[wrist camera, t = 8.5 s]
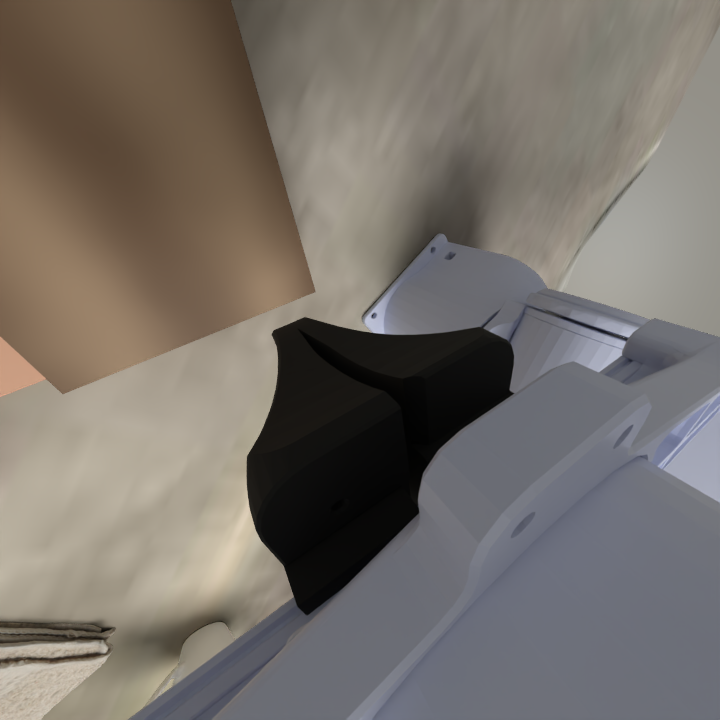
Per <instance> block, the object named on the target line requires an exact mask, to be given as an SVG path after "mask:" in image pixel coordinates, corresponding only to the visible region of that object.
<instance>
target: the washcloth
mask: <svg viewBox="0 0 720 720" xmlns="http://www.w3.org/2000/svg"><path fill="white" fill-rule="evenodd" d="M115 629H116V628H112V629H110V630H107V631H103V632H101V628H100V627H96V626H94V625H86V624H64V623H63V624H30V623H12V622H7V623H4V622H0V720H41V719H42V717H43V716H44V715H45V714H46V713H48V712H49V711H50V710H51V709H52V707H53V706H55V705H56V704H57V703H58V702H60V701H61V700H62V699H63V698H64V697H65V696H66V695H68V694H69V692H70V691H71V690H72V689H75V688H76V687H77V686H78V685H79V684H81V683H82V682H83V681H84V680H85V679H87V678H88V677H89V676H90V675H91V674H93V673H94V672H95V671H96V669H97V668H99V667H101V665H102V664H103V663H105V662H106V661H107V658H108V657H109V655H111V653H112V651H113V646H112V645H111V644H109V643H108V642H106V641H107V640H108V639H109V637H110V636H112V634H113V633H114V632H115Z"/></svg>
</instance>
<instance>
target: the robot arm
mask: <svg viewBox="0 0 720 720" xmlns="http://www.w3.org/2000/svg"><path fill="white" fill-rule="evenodd" d="M431 248H432V251H431ZM545 310H546V311H545ZM548 311H549V312H548ZM373 313H374V315H373V316H372V317H371V315H372V314H373ZM559 315H560V316H559ZM362 322H363V323H364V324H365V326H366V327H367V328H368V329H369V330H370V331H371V332H372V333H369V332H363V331H357V330H352V329H347V328H343V327H339V326H335V325H331V324H327V323H324V322H320V321H317V320H313V319H310V318H305V317H304V318H302V319H300V320H297V321H295V322H293V323H290V324H288V325H286V326H283V327H281V328H279V329H276V330H274V331H273V333H272V336H273V339H274V341H275V343H276V346H277V351H278V377H277V385H276V390H275V394H274V398H273V402H272V406H271V409H270V412H269V414H268V417H267V419H266V422H265V424H264V427H263V429H262V431H261V433H260V435H259V437H258V439H257V440H256V442H255V444H254V446H253V448H252V449H251V451H250V452H249V454H248V456H247V491H248V499H249V506H250V511H251V514H252V518H253V522H254V525H255V529H256V531H257V533H258V535H259V537H260V539H261V541H262V542H263V543H264V544H265V545H266V547H267V548H268V549H269V550H270V551H271V552H272V553H273V554H274V555H275V557H276V558H277V559H278V560H279V561H280V562H281V563H282V564H283V565H284V568H285V571H286V574H287V577H288V580H289V583H290V586H291V589H292V592H293V595H294V597H293V598H292V599H291V600H289V601H288V602H287V603H285V604H284V605H282V606H281V607H280V608H278V609H277V610H276V611H274V612H273V613H272V614H270V615H269V616H268V617H266V618H265V619H263V620H262V621H261V622H259V623H258V624H257V625H255V626H254V627H253V628H251V629H250V630H249V631H247V632H246V633H244V634H243V635H242V636H240V637H239V638H238V639H236V640H235V641H234V642H232V643H231V644H230V645H228V646H227V647H225V648H224V649H223V650H221V651H220V652H219V653H217V654H216V655H215V656H213V657H212V658H211V659H209V660H208V661H206V662H205V663H204V664H202V665H201V666H200V667H198V668H197V669H196V670H194V671H193V672H192V673H190V674H189V675H187V676H186V677H185V678H183V679H182V680H181V681H179V682H178V683H177V684H175V685H174V686H173V687H171V688H170V689H168V690H167V691H166V692H164V693H163V694H162V695H160V696H159V697H158V698H156V699H155V700H154V701H152V702H151V703H149V704H148V705H147V706H145V707H144V708H143V709H141V710H140V711H139V712H137V713H136V714H135V715H133V716H132V717H130V718H129V719H128V720H720V337H718V336H714V335H711V334H708V333H704V332H701V331H697V330H694V329H690V328H687V327H683V326H680V325H676V324H673V323H669V322H666V321H662V320H659V319H656V318H654V319H651V320H650V319H647V318H644V317H641V316H638V315H635V314H632V313H629V312H626V311H623V310H620V309H616V308H613V307H610V306H607V305H604V304H600V303H597V302H594V301H591V300H587V299H584V298H580V297H577V296H574V295H570V294H567V293H563V292H559V291H556V290H552V289H547V286H546V285H545V283H544V282H543V280H542V279H541V277H540V276H539V275H538V274H537V273H536V272H535V271H534V270H532V269H531V268H530V267H528V266H527V265H525V264H524V263H522V262H520V261H518V260H516V259H514V258H512V257H509V256H506V255H502V254H498V253H494V252H489V251H485V250H481V249H477V248H472V247H468V246H464V245H459V244H455V243H451V242H448V240H447V238H446V236H445V235H444V234H441V233H439V234H437V235H436V236H435V237H434V238H433V239H432V241H431V242H430V243H429V244H428V245H427V246H426V247H425V248H424V249H423V251H422V252H421V253H420V254H419V255H418V256H417V257H416V258H415V259H414V261H413V262H412V263H411V264H410V265H409V266H408V267H407V268H406V269H405V270H404V272H403V273H402V274H401V275H400V276H399V277H398V278H397V279H396V280H395V282H394V283H393V284H392V285H391V286H390V287H389V288H388V289H387V290H386V292H385V293H384V294H383V295H382V296H381V297H380V298H379V299H378V300H377V302H376V303H375V304H374V305H373V306H372V307H371V308H370V309H369V310H368V312H367V313H366V314H365V315H364V316H363V319H362ZM620 336H621V337H620ZM623 337H625V338H623Z"/></svg>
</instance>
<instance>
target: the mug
mask: <svg viewBox="0 0 720 720" xmlns="http://www.w3.org/2000/svg"><path fill="white" fill-rule="evenodd" d="M234 641H235V638H234V637H233V635H232V634H231V632H230V630H229V629H228V627H227V626H226V624H225V623H223V622H216V623H212V624H209V625H206V626H204V627H202V628H200V629H199V630H197V631H196V632H194V633H193V634H192V635H191V636H189V637H188V638H187V639H186V641H185V642H184V644H183V646H182V650H181V654H180V658H179V662H178V666H176V667H175V668H174V669H173V670H172V671H171V673H170V674H169V675H168V676H167V677H166V678H165V680H164V681H163V682H162V683H161V685H160V686H159V687H158V689H157V690H156V691H155V692H154V694H153V695H152V696H151V698H150V699H149V700H148V702H147V703H146V705H145V706H147V705H148V704H149V703H151V702H152V701H154V700H155V699H156V698H158V697H159V696H160V694H161V693H162V691H163V690H164V688H165V687H166V686H167V684H168V683H169V681H170V680H171V679H174V681H173V685H172V687H173V686H174V685H175V684H177V683H178V682H179V681H181V680H182V679H183V678H185V677H186V676H187V675H189V674H190V673H192V672H193V671H194V670H196V669H197V668H198V667H200V666H201V665H202V664H204V663H205V662H206V661H208V660H209V659H211V658H212V657H213V656H215V655H216V654H217V653H219V652H220V651H221V650H223V649H224V648H225V647H227V646H228V645H230V644H231V643H232V642H234ZM145 706H144V707H145Z"/></svg>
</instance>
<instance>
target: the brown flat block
mask: <svg viewBox="0 0 720 720" xmlns="http://www.w3.org/2000/svg"><path fill="white" fill-rule="evenodd" d="M314 292H315V288H314V285H313V281H312V278H311V275H310V271H309V268H308V264H307V261H306V257H305V254H304V250H303V247H302V244H301V240H300V237H299V233H298V230H297V226H296V223H295V220H294V216H293V213H292V209H291V206H290V202H289V199H288V195H287V192H286V189H285V185H284V182H283V178H282V175H281V171H280V168H279V165H278V161H277V158H276V154H275V151H274V147H273V144H272V140H271V137H270V134H269V130H268V127H267V123H266V120H265V116H264V113H263V110H262V106H261V103H260V99H259V96H258V92H257V89H256V85H255V82H254V79H253V75H252V72H251V68H250V65H249V61H248V58H247V55H246V51H245V48H244V44H243V41H242V37H241V34H240V30H239V27H238V24H237V20H236V17H235V13H234V10H233V6H232V3H231V0H0V337H1V338H2V339H4V340H5V341H6V342H7V343H8V344H9V345H10V346H11V347H12V348H13V349H14V350H15V351H17V352H18V353H19V354H20V355H21V356H22V357H23V358H24V359H25V360H26V361H27V362H28V363H30V364H31V365H32V366H33V367H34V368H35V369H36V370H37V371H38V372H39V373H40V374H42V375H43V376H44V377H45V378H46V379H47V380H48V381H49V382H50V383H51V384H52V385H53V386H55V387H56V388H57V389H58V390H59V391H60V392H61V393H62V394H64V393H67V392H69V391H72V390H74V389H77V388H79V387H82V386H84V385H87V384H89V383H92V382H94V381H96V380H99V379H101V378H104V377H106V376H109V375H111V374H114V373H116V372H119V371H121V370H124V369H126V368H129V367H131V366H134V365H136V364H138V363H141V362H143V361H146V360H148V359H151V358H153V357H156V356H158V355H161V354H163V353H166V352H168V351H171V350H173V349H175V348H178V347H180V346H183V345H185V344H188V343H190V342H193V341H195V340H198V339H200V338H203V337H205V336H208V335H210V334H213V333H215V332H217V331H220V330H222V329H225V328H227V327H230V326H232V325H235V324H237V323H240V322H242V321H245V320H247V319H250V318H252V317H255V316H257V315H259V314H262V313H264V312H267V311H269V310H272V309H274V308H277V307H279V306H282V305H284V304H287V303H289V302H292V301H294V300H297V299H299V298H301V297H304V296H306V295H309V294H311V293H314Z"/></svg>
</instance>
